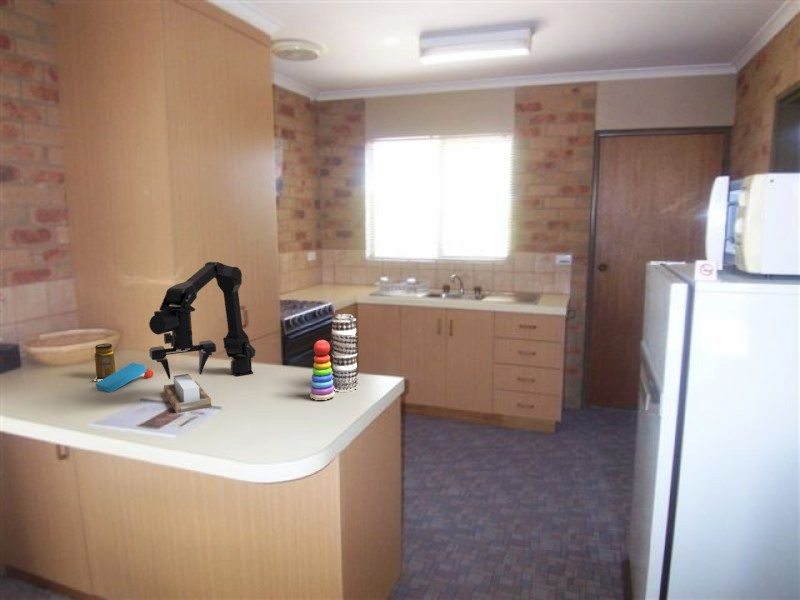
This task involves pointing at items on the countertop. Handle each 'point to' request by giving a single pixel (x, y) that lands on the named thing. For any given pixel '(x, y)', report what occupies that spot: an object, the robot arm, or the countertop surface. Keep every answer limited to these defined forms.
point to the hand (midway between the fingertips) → (185, 376)
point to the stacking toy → (322, 373)
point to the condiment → (104, 361)
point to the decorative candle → (344, 352)
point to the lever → (123, 377)
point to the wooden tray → (186, 406)
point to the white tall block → (186, 388)
